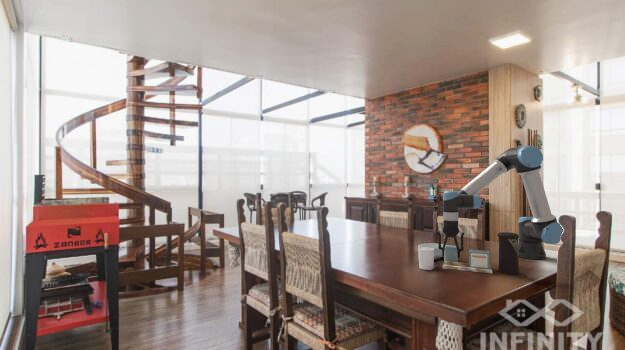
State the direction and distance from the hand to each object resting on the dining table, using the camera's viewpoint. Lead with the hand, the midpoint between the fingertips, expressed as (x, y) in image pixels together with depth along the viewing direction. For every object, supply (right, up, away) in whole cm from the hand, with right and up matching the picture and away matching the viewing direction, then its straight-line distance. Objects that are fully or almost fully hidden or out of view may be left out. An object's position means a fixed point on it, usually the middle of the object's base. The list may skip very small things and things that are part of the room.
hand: (451, 263), depth 186 cm
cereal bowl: (-4, -1, +14) cm, 15 cm away
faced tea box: (+8, +1, -16) cm, 17 cm away
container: (+19, 0, -21) cm, 28 cm away
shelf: (+3, 0, -13) cm, 14 cm away
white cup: (-16, -1, -9) cm, 19 cm away
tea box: (0, 0, 0) cm, 0 cm away
